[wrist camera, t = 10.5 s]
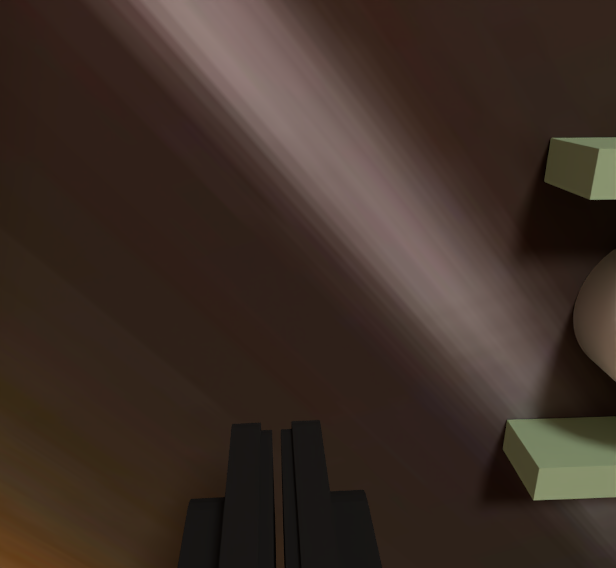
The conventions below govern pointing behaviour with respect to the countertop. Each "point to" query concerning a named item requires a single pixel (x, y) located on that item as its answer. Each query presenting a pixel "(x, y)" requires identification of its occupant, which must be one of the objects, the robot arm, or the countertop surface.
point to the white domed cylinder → (598, 315)
